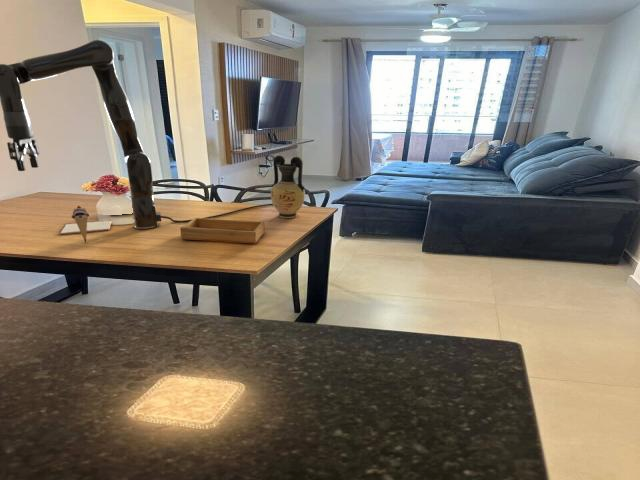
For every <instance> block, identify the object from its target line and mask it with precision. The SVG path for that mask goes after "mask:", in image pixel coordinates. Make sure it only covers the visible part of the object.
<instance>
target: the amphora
mask: <svg viewBox="0 0 640 480" xmlns="http://www.w3.org/2000/svg"><path fill="white" fill-rule="evenodd" d="M272 162H273V164H272V165H273V172H274V175H273V176H274V179H273V180H274V181H273V184H271V189H270V200H271V204H272V203H273V205H272V206H273V207H274V209H276V211H278V217H280V218H281V219H294V218H296V217H298V214H297V212H298V211H299V210H300V209H301V208H302V207H303V205H304V203H305V197H306V192H305V191H306V190H305V186H304V184H303V170H304V169H303V168H304V167H303V165H304V164H303V163H304V161H303V160H302V158H301V157H300V156H293V157H292V158H291V159H290V162H289V163H286V159H285V157H284V156H283V155H280V154H279V155H276V156H274V157H273V161H272ZM297 168H298V171H297ZM296 171H297V182H296V181H295V173H296ZM279 172H280V173H281V177H280V181H279Z"/></svg>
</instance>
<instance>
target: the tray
mask: <svg viewBox="0 0 640 480" xmlns="http://www.w3.org/2000/svg"><path fill="white" fill-rule="evenodd" d="M190 220H191V219H190ZM179 228H180V229H179V230H180V239H181V240H191V241H208V242H222V243H223V242H225V243H239V244H253V245H256V244H257V242H258V241H259V240H260V239H261V237H262V236H263V235H264V234H265V221H257V220H254V221H253V220H239V219H238V220H237V219H222V218H209V219H206V218H205V217H194V218H193V220H191V221H190V222H186V223H185V224H183V225H182V226H180V227H179Z"/></svg>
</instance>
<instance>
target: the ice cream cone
mask: <svg viewBox="0 0 640 480" xmlns="http://www.w3.org/2000/svg"><path fill="white" fill-rule="evenodd" d="M89 216H90V214H89V213H88V212H87V208H83V207H81V206H80V205H77V207H75V208H74V209H73V211H72V215H71V218H72V219H73V220H74V221H75V223H77V225H78V227H79V230H80V232H81V233H80V234H81V236H82V238H83V240H84V242H85V244H86V243H87V233H88V232H87V222H88V218H89Z"/></svg>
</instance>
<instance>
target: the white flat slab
mask: <svg viewBox="0 0 640 480" xmlns="http://www.w3.org/2000/svg"><path fill="white" fill-rule="evenodd" d="M111 224H112V221H104V220H94V221H93V220H92V221H87V233H95V232H98V233H99V232H109V231H110V228H111ZM74 234H81V232H80V230H79V227H78V225H77V223H76V222H69V223H65V226H63V229H62V230H61V231H60V232H59V235H60V236H63V235H64V236H65V235H74Z"/></svg>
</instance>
